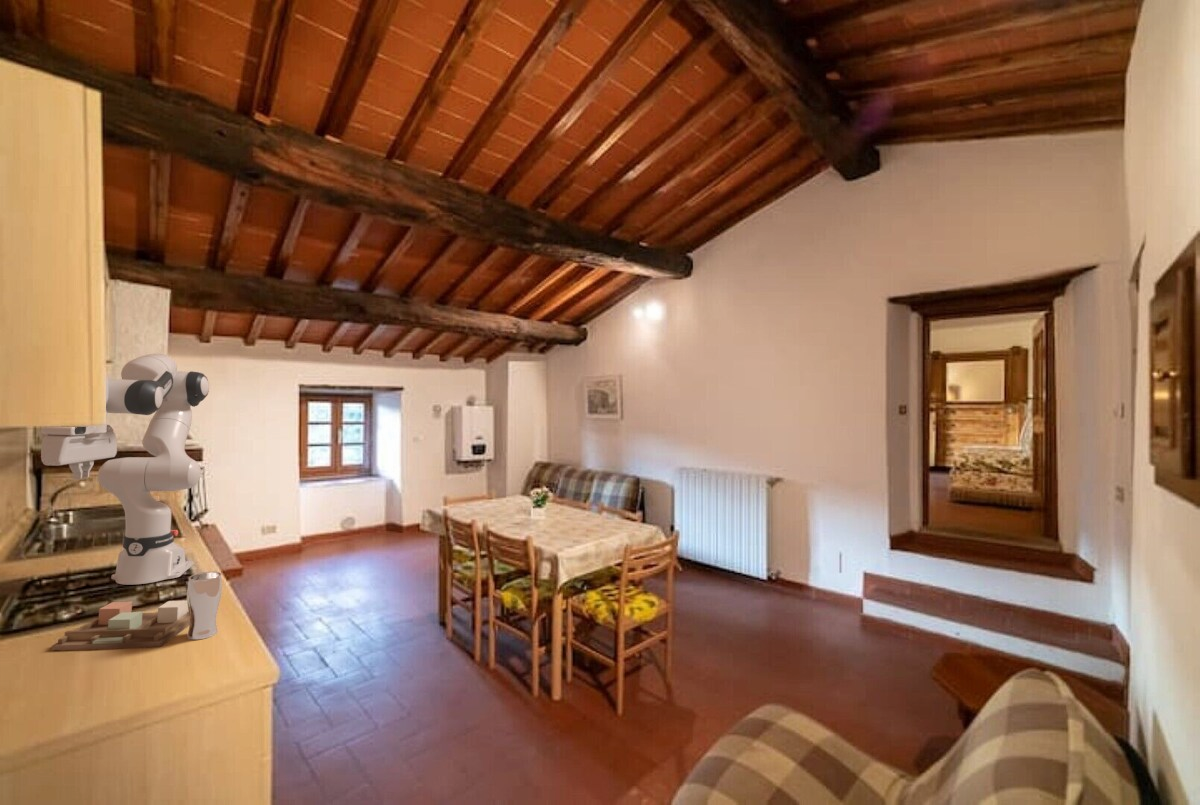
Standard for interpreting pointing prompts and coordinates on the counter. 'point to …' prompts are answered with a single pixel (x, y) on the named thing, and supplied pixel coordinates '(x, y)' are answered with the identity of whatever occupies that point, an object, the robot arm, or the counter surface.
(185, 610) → the pale pink cube
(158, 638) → the brown compartment tray
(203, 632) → the beer glass
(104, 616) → the salmon pink cube
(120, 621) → the sage green cube
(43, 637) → the counter surface
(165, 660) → the counter surface
